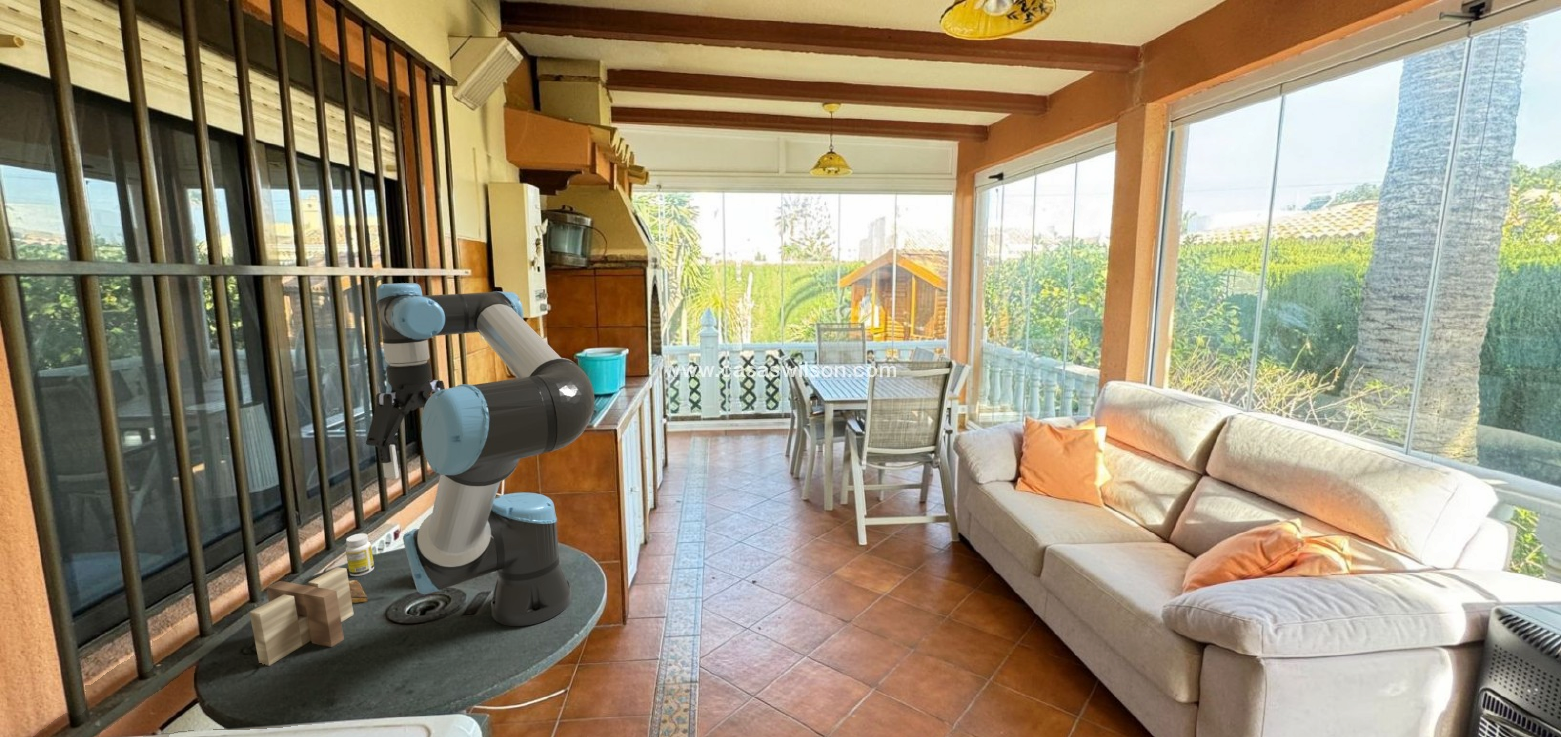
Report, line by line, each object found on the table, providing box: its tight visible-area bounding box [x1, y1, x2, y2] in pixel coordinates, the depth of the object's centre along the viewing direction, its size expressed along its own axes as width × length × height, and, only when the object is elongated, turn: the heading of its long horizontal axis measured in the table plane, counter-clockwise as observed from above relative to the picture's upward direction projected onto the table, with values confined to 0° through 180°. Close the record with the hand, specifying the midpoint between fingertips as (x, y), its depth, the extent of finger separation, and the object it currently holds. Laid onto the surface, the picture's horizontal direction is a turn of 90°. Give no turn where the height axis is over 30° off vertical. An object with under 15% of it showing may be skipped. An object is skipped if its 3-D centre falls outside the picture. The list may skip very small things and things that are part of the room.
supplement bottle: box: [345, 533, 375, 577], centre depth 139 cm, size 5×5×8 cm
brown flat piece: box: [348, 579, 368, 604], centre depth 128 cm, size 11×8×2 cm
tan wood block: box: [265, 580, 345, 648], centre depth 115 cm, size 14×2×10 cm, turn 75°
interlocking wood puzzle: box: [249, 566, 355, 667], centre depth 115 cm, size 2×16×10 cm, turn 165°
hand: (421, 466), depth 124 cm, fingers open, 13 cm apart
